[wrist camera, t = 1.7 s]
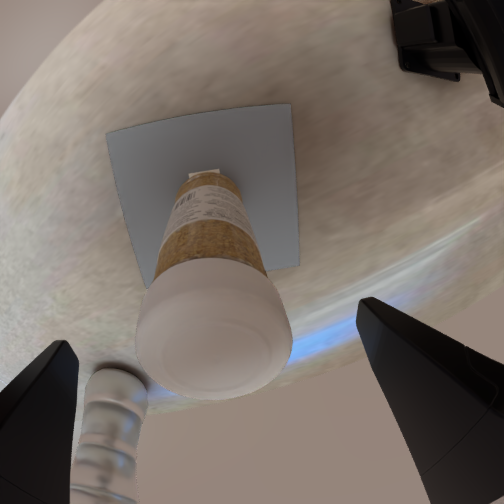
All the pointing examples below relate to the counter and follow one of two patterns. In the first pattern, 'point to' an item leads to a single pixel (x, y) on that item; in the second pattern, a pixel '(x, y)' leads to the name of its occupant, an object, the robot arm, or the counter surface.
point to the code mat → (210, 160)
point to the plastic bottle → (109, 439)
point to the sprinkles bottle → (211, 300)
